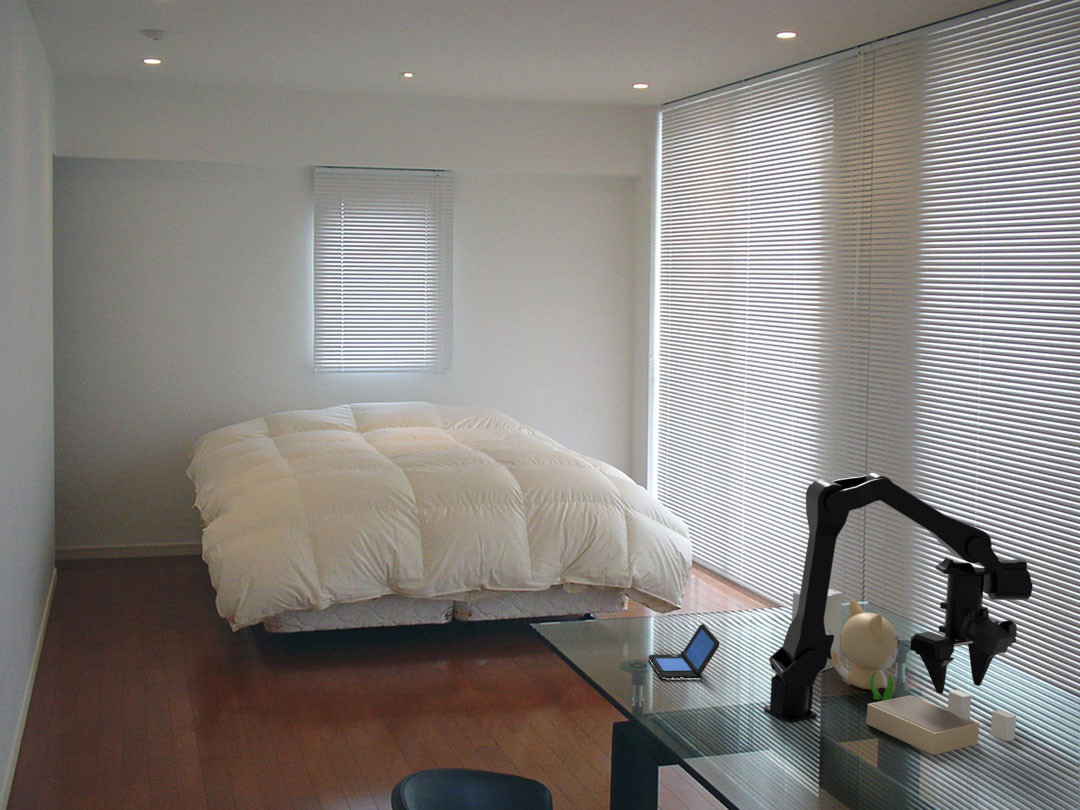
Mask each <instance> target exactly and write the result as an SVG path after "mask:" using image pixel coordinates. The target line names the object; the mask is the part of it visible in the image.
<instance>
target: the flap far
mask: <svg viewBox="0 0 1080 810" xmlns="http://www.w3.org/2000/svg"><path fill="white" fill-rule="evenodd" d="M971 705H972V695H971V694H970V693H967V692H964V691H961V690H959V689H955V690H954V689H953V690H949V691H948V699H947V710H948V711H950V712H952V713H955V714H957V715H960V716H962V717H965V718H967V719H970V716H971Z"/></svg>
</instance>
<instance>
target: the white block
mask: <svg viewBox="0 0 1080 810" xmlns="http://www.w3.org/2000/svg"><path fill="white" fill-rule="evenodd" d="M1016 722H1017V714H1016V715H1015V714H1014V713H1010V712H1008V711H1005V710H1003V709H997V710H996V709H995V710H993V711H992V712H991V723H990V725H991V726H990V736H992V737H995V738H997V739H999V740H1002V741H1004V742H1011V741H1013V739H1014V740H1015V737H1016V726H1017V724H1016Z"/></svg>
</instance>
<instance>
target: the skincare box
mask: <svg viewBox="0 0 1080 810" xmlns="http://www.w3.org/2000/svg"><path fill="white" fill-rule="evenodd" d="M800 591H801V590H799V591H795V592H793V593H792V609H791V610H792V611H791V612H792V613H791V622H792V621H793V619H794V618H795V616H796V614H797V611H798V605H799V598H800ZM842 606H843V592H842V591H838V590H835V589H833V588H832V589H831V588H829V590H828V597H827V603H826V610H825V616H824V625H825V627H826V628H827V629H828V630H829V631H830V632H831V633H832V634H833V635H834V641H833V644H832V647H831V650H833V651H835V652H836V653H837V655H838V657H839V658H840V636H841V629H842V628H841V625H842V609H843V607H842ZM832 668H834V667H833V666H832V665H831V664H830V662H829V660H827V664H826V666H825V668H824V669H823V670H821V671H820V672H819V673H821V672H823V671H827V670H829V669H832Z"/></svg>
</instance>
